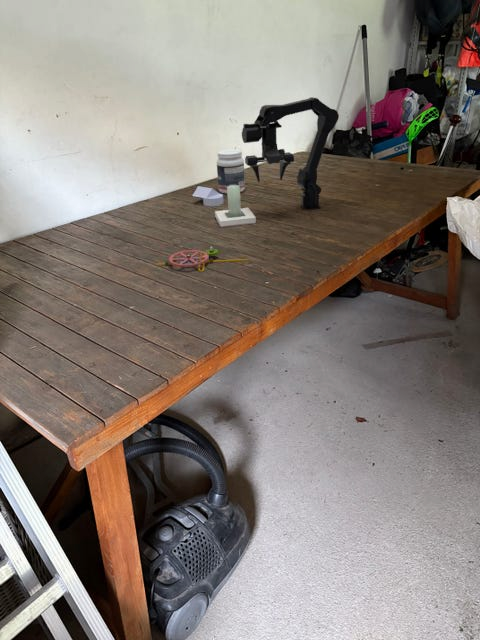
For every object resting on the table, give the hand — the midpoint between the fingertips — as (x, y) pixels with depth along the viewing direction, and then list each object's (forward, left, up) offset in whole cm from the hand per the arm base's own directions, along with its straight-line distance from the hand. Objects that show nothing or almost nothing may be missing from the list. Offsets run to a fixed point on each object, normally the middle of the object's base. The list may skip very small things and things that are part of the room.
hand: (269, 180), depth 203 cm
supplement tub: (+9, -40, -13) cm, 43 cm away
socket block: (+16, +5, -13) cm, 21 cm away
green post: (+16, +5, -13) cm, 21 cm away
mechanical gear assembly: (+35, +46, -14) cm, 59 cm away
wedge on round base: (+22, -24, -13) cm, 35 cm away
